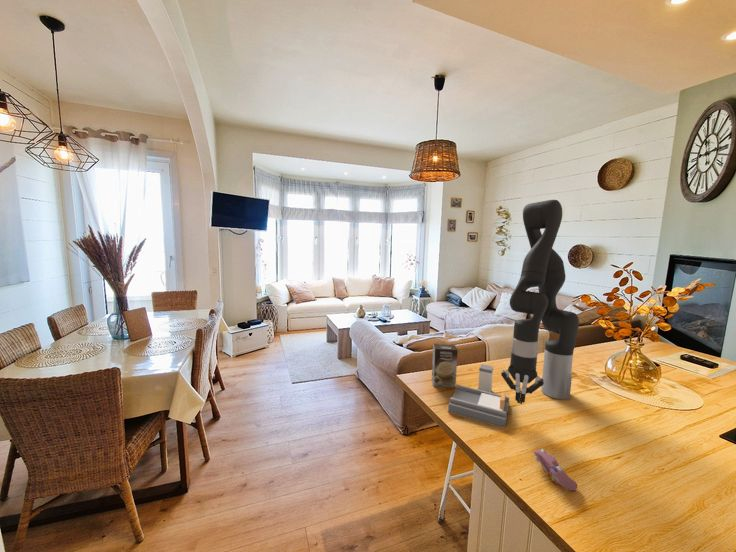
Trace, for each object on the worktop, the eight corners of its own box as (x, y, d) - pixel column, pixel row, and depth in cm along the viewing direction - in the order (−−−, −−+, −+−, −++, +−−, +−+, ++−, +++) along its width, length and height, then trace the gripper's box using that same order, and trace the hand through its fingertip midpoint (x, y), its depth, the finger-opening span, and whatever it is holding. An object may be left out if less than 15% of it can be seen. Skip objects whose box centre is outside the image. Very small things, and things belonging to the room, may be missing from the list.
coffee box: (433, 386, 121) (434, 348, 119) (431, 379, 127) (432, 343, 125) (456, 388, 120) (457, 349, 118) (453, 380, 126) (454, 344, 124)
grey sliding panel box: (508, 405, 108) (509, 394, 107) (504, 428, 95) (505, 416, 94) (458, 392, 116) (458, 382, 116) (448, 412, 103) (448, 400, 103)
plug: (491, 390, 118) (493, 366, 117) (490, 395, 115) (491, 370, 114) (479, 387, 120) (481, 364, 119) (478, 392, 117) (479, 367, 116)
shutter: (505, 400, 105) (506, 390, 105) (502, 413, 97) (503, 402, 97) (481, 394, 109) (482, 385, 109) (477, 406, 101) (477, 396, 101)
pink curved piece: (537, 467, 81) (527, 447, 80) (551, 459, 81) (542, 439, 80) (564, 499, 71) (554, 476, 70) (581, 490, 71) (571, 467, 70)
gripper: (547, 352, 96) (542, 403, 98) (503, 344, 103) (499, 392, 105) (548, 360, 90) (542, 414, 92) (500, 351, 96) (496, 402, 99)
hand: (519, 402), depth 99 cm, fingers closed
